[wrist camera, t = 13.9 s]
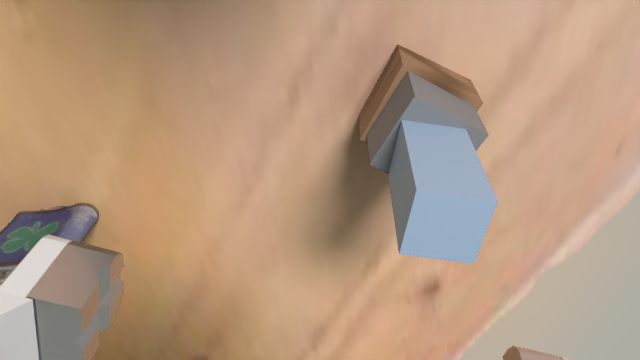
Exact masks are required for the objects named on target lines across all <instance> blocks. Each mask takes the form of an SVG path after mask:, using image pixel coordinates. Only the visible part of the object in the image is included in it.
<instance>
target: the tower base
mask: <svg viewBox="0 0 640 360" xmlns="http://www.w3.org/2000/svg"><path fill="white" fill-rule="evenodd" d="M407 71H410V72H412V73H414V74H415V75H417V76H419V77H421V78H423V79H425V80H427V81H428V82H430V83H432V84H434V85H436V86H438V87H440V88H441V89H443V90H445V91H447V92H449V93H451V94H453V95H454V96H456V97H458V98H460V99H462V100H464V101H466V102H467V103H469V104H471V105H473V106H474V107H475V109H476V111H478V110H479V108H480V107H481V105H482V104H483V102H482V100H481V98H480V96H479V95H478V93H477V91H476V89H475V87H474V85H473V83H472V82H471V80H470V79H468V78H466V77H463V76H461V75H459V74H457V73H455V72H453V71H451V70H449V69H447V68H445V67H443V66H441V65H439V64H437V63H435V62H433V61H431V60H429V59H426V58H424V57H422V56H420V55H418V54H416V53H414V52H412V51H410V50H408V49H406V48H404V47H402V46H400V45H397V47H396V49H395V50H394V52H393V54H392V56H391V58H390V59H389V61H388V63H387V65H386V67H385V68H384V70H383V72H382V74H381V76H380V77H379V79H378V81H377V83H376V85H375V87H374V88H373V90H372V92H371V94H370V96H369V97H368V99H367V101H366V103H365V105H364V106H363V108H362V110H361V112H360V114H359V131H360V140H361V141H363V142H366V143H368V138H367V133H368V132H369V130H370V128H371V127H372V125H373V124H374V122H375V121H376V119H377V118H378V116H379V114H380V113H381V111H382V110H383V108H384V107H385V105H386V104H387V102H388V100H389V99H390V97H391V96H392V94H393V93H394V91H395V89H396V88H397V86H398V85H399V83H400V82H401V80H402V79H403V77H404V75H405V74H406V72H407Z"/></svg>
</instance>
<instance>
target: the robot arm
mask: <svg viewBox="0 0 640 360" xmlns="http://www.w3.org/2000/svg"><path fill="white" fill-rule="evenodd" d="M123 267H124V261H123V254H121V253H119V252H115V251H111V250H108V249H104V248H100V247H96V246H92V245H89V244H85V243H81V242H77V241H72V240H68V239H64V238H60V237H56V236H53V235H49V234H48V235H47V236H45V237H43V238H41V239H40V240H39V241H38V242H37V244H36V245H35V246H34V247H33V248H32V249H31V251H30V252H29V253H28V254H27V255H26V256H25V258H24V259H23V260H22V261H21V262H20V263H19V264H18V266H17V267H16V268H15V269H14V270H13V271H12V273H11V274H10V275H9V276H8V277H7V278H6V280H5V281H4V282H3V283H2V284H1V285H0V360H92V358H93V356H94V354H95V353H96V351H97V349H98V347H99V346H100V333H101V332H102V331H104V330H106V329H108V328H110V326H111V324H112V322H113V320H114V318H115V317H116V314H117V311H118V309H119V306H120V303H121V299H122V294H123V282H122V281H121V279H120V278H119V277H118V276H119V274H120V272H121V271H122V269H123ZM503 360H573V359H568V358H564V357H558V356H555V355H551V354H547V353H542V352H538V351H533V350H529V349H525V348H520V347H516V346H512V347H511V348H509V349H508V350H507V351H506V353H505V354H504V356H503Z"/></svg>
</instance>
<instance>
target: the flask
mask: <svg viewBox="0 0 640 360" xmlns="http://www.w3.org/2000/svg"><path fill="white" fill-rule="evenodd" d="M98 216H99V212H98V211H97V210H96V208H95V206H94V205H90V204H85V203H76V204H75V205H73V206H57V207H53V208H52V209H49V210H44V209H42V210H40V211H32V210H31V211H20V212H19V213H18V214H17V215H16V216H15V217H14V219H13V220H12V221H11V222H10V223H9V224H8V225H7V226H6V227H5V228H4V229H3V230H2V231H1V232H0V285H1V284H2V283H3V282H4V281H5V280H6V278H7V277H8V276H9V275H10V274H11V273H12V271H13V270H14V269H15V268H16V267H17V266H18V264H19V263H20V262H21V261H22V260H23V259H24V258H25V256H26V255H27V254H28V253H29V252H30V251H31V249H32V248H33V247H34V246H35V245H36V244H37V242H38V241H39V240H40V239H41V238H43V237H45V236H47V235H48V234H49V235H53V236H56V237H60V238H64V239H68V240H72V241H77V242H82V240H83V239H84V237H85V236H86V235H87V234H88V232H89V231H90V229H91V228H92V226H93V225H94V224H95V223H96V221H97V219H98Z"/></svg>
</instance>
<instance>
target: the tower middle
mask: <svg viewBox="0 0 640 360" xmlns="http://www.w3.org/2000/svg"><path fill="white" fill-rule="evenodd" d="M401 120H407V121H414V122H421V123H428V124H435V125H442V126H449V127H456V128H463V129H466V130H467V132H468V135H469V137H470V139H471V142H472V144H473V146H474V148H475V151H477V149H478V148H479V147H480V145H481V144H482V143H483V142H484V140H485V139H486V138H487V136H488V133H487V131H486V129H485V127H484V125H483V123H482V121H481V119H480V117H479V115H478V113H477V111H476V109H475V107H474V106H473V105H471V104H469V103H467V102H466V101H464V100H462V99H460V98H458V97H456V96H454V95H453V94H451V93H449V92H447V91H445V90H443V89H441V88H440V87H438V86H436V85H434V84H432V83H430V82H428V81H427V80H425V79H423V78H421V77H419V76H417V75H415V74H414V73H412V72H410V71H407V72H406V74H405V75H404V77H403V79H402V80H401V82H400V83H399V85H398V86H397V88H396V89H395V91H394V93H393V94H392V96H391V97H390V99H389V100H388V102H387V104H386V105H385V107H384V108H383V110H382V111H381V113H380V114H379V116H378V118H377V119H376V121H375V122H374V124H373V125H372V127H371V128H370V130H369V132H368V133H367V138H368V152H369V164H370V165H372V166H374V167H376V168H378V169H380V170H382V171H384V172H386V173H388V174H389V171H390V166H391V162H392V158H393V154H394V149H395V145H396V141H397V137H398V132H399V128H400V124H401Z"/></svg>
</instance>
